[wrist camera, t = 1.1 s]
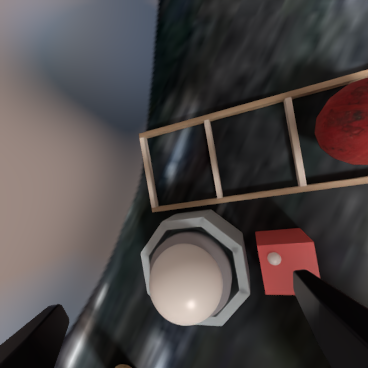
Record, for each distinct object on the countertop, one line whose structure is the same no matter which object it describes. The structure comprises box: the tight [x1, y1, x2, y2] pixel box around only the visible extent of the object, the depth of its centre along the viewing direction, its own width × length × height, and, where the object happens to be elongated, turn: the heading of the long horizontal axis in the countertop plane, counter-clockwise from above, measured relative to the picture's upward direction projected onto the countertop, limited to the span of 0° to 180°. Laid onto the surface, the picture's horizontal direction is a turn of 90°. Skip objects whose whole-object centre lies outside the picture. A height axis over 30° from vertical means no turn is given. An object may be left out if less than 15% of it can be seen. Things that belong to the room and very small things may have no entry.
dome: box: [149, 230, 233, 326], centre depth 16 cm, size 7×7×6 cm
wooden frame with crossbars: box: [139, 70, 368, 212], centre depth 19 cm, size 9×23×1 cm, turn 101°
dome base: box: [141, 209, 320, 326], centre depth 18 cm, size 10×15×4 cm, turn 101°
